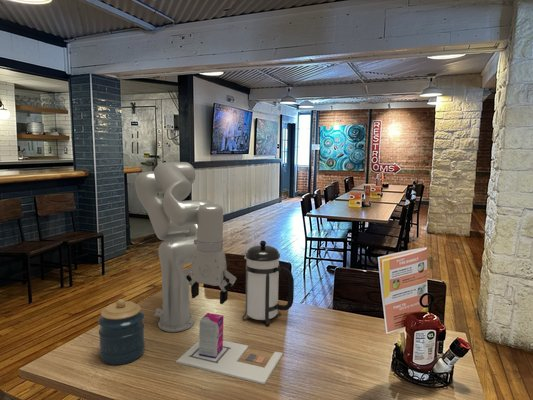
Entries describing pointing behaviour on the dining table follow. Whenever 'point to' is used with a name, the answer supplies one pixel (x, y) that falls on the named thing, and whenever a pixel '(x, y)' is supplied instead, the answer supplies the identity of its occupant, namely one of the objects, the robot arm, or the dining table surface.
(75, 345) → the dining table surface
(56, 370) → the dining table surface
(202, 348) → the supplement box
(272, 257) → the coffee press
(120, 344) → the canister
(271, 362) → the board
